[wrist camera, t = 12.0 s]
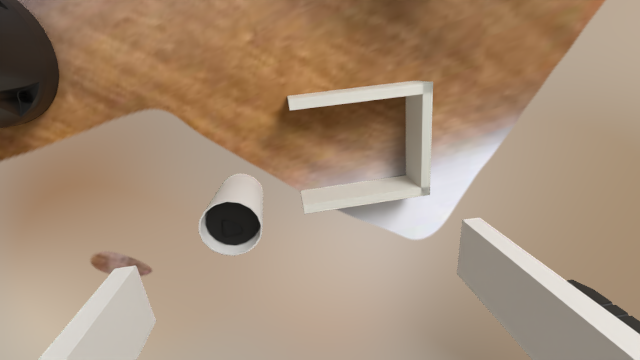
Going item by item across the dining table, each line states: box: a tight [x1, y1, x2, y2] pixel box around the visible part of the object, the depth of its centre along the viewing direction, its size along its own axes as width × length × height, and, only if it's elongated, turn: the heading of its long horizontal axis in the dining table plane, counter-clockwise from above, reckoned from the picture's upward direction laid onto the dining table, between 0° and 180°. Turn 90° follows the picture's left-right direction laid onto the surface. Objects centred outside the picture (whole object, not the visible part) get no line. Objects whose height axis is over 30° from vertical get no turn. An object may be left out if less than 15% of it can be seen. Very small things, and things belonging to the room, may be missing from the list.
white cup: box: [199, 174, 263, 256], centre depth 36 cm, size 7×7×10 cm
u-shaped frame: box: [287, 81, 433, 214], centre depth 38 cm, size 14×17×5 cm
